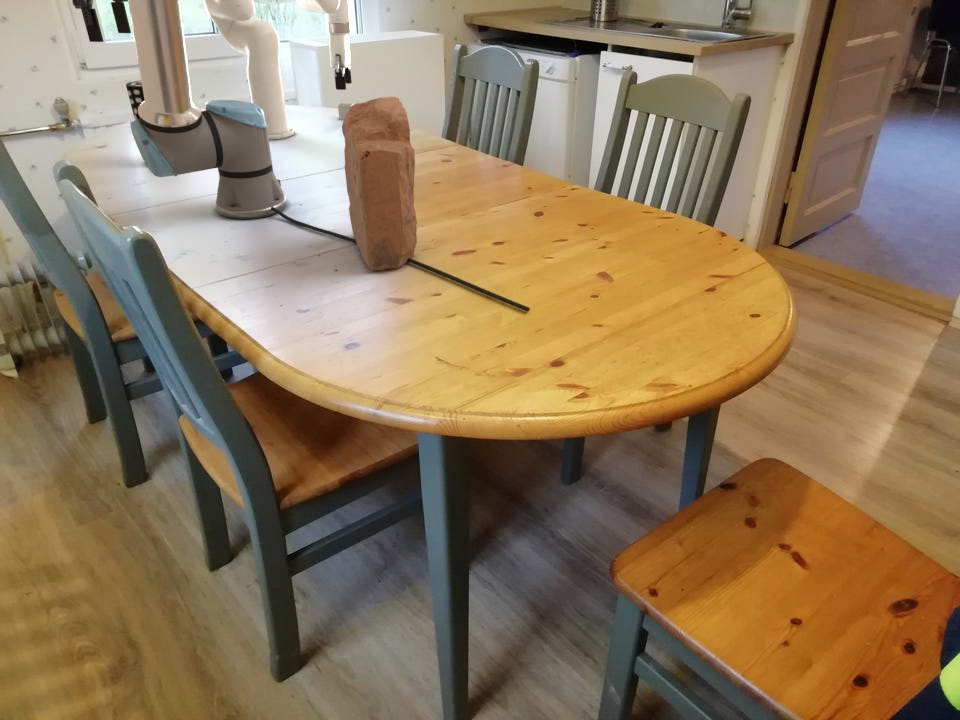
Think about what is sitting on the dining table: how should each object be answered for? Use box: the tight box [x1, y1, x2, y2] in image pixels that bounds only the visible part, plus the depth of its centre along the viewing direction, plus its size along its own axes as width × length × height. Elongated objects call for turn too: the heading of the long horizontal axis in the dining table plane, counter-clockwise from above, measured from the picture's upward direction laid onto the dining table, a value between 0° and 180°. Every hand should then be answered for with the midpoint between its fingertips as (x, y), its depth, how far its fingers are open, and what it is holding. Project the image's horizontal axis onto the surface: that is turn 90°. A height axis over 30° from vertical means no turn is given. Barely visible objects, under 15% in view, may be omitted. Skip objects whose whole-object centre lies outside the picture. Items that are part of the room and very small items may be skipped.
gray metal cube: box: [337, 102, 354, 121], centre depth 228 cm, size 4×4×4 cm
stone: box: [341, 96, 418, 271], centre depth 131 cm, size 22×11×28 cm, turn 18°
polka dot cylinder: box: [125, 80, 145, 120], centre depth 181 cm, size 8×8×20 cm
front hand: (111, 37), depth 158 cm, fingers open, 13 cm apart
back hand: (344, 86), depth 224 cm, fingers open, 9 cm apart
